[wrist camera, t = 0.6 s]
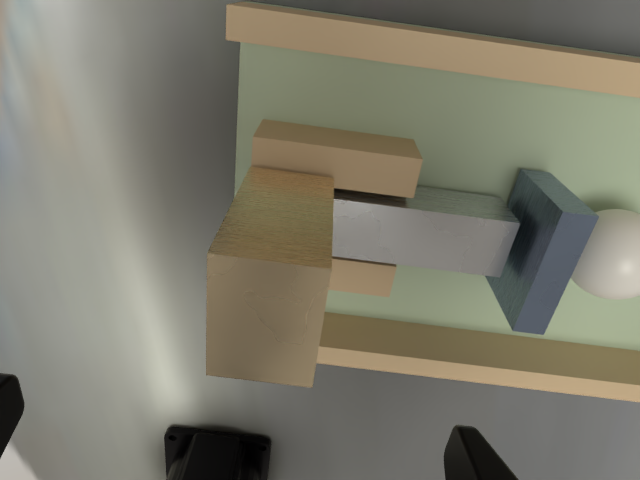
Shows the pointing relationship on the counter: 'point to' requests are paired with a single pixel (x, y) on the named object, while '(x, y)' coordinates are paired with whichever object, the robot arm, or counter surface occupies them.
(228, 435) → the robot arm
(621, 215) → the ball
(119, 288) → the counter surface
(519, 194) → the tan and grey block
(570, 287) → the pitch
